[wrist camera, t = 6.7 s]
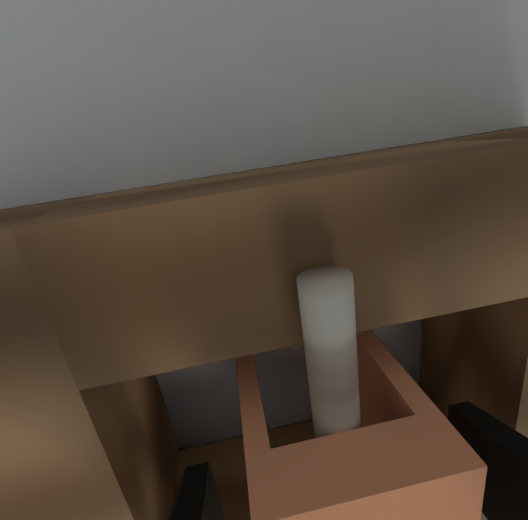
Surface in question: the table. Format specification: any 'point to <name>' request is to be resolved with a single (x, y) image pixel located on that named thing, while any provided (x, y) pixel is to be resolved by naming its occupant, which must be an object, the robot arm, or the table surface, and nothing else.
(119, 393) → the wooden frame tray
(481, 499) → the u clip
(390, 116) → the table surface
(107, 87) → the table surface
